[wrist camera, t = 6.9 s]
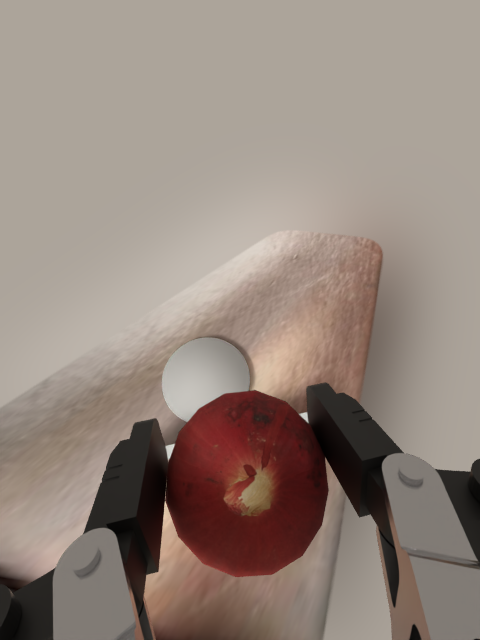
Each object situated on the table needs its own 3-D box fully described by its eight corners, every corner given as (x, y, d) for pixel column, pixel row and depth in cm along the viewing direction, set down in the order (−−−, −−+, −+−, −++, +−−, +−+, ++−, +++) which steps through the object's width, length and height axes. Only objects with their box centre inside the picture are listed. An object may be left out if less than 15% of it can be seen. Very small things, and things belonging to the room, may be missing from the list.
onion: (210, 389, 15) (191, 338, 8) (311, 425, 14) (393, 407, 7) (164, 508, 13) (77, 593, 6) (283, 557, 12) (361, 726, 5)
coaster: (168, 435, 26) (167, 435, 26) (158, 348, 30) (157, 346, 29) (258, 414, 27) (259, 413, 27) (239, 332, 31) (239, 330, 30)
